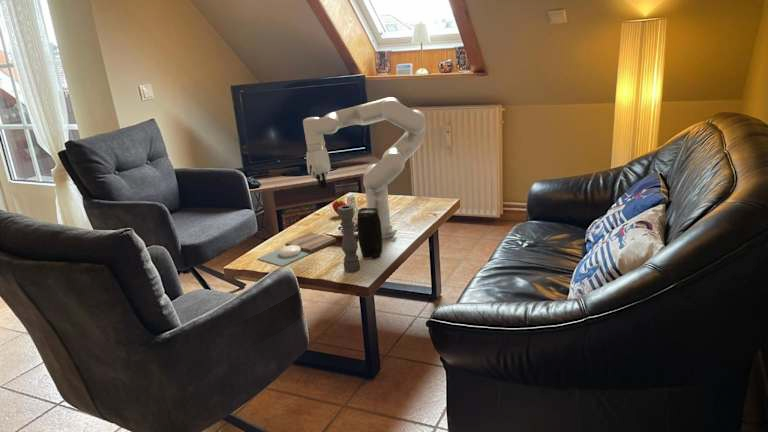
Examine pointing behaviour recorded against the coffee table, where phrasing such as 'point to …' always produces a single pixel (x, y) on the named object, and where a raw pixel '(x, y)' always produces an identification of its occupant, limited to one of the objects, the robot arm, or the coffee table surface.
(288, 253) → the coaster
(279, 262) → the mat
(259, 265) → the coffee table surface
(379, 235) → the portable speaker
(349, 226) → the candle holder
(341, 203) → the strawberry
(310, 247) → the riser
